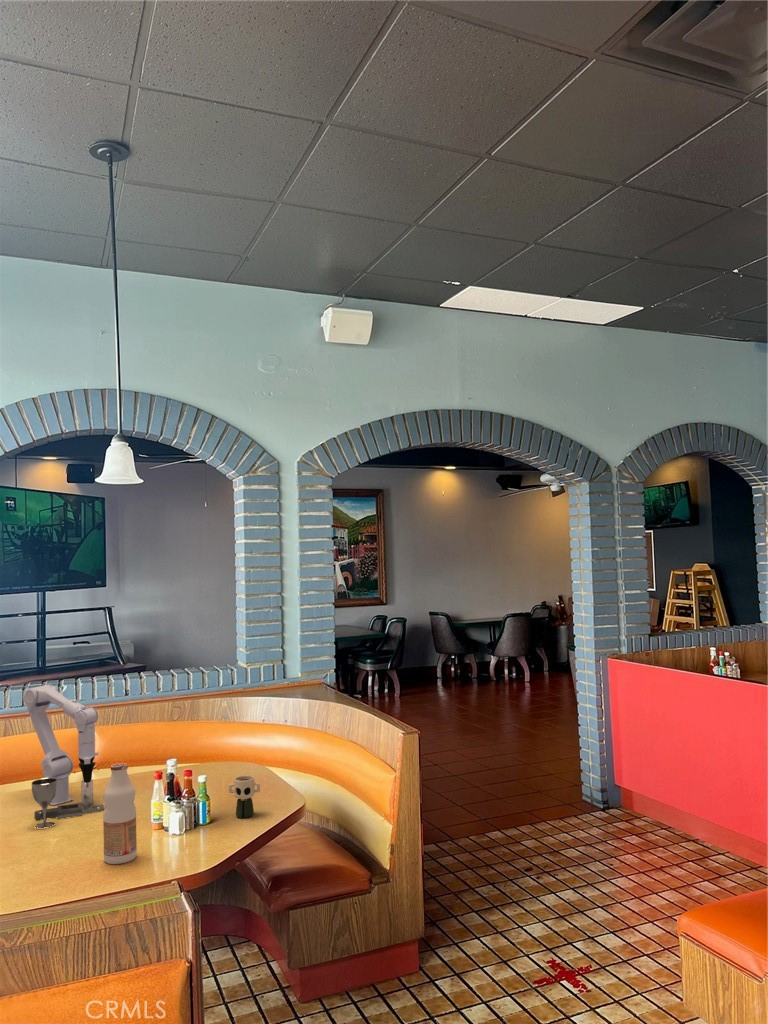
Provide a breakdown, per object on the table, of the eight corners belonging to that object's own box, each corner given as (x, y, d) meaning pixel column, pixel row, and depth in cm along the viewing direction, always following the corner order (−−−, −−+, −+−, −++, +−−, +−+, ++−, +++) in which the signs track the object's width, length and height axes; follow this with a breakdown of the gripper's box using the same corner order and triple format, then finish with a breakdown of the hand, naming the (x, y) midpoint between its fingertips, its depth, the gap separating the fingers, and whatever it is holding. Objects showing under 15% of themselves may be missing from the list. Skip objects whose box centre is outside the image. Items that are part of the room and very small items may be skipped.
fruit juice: (107, 867, 227) (106, 770, 229) (100, 857, 235) (99, 764, 237) (140, 860, 232) (139, 765, 234) (132, 850, 240) (131, 758, 242)
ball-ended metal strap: (33, 822, 268) (33, 815, 269) (34, 815, 276) (34, 809, 276) (104, 812, 277) (104, 805, 277) (103, 806, 285) (103, 799, 285)
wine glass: (62, 823, 267) (62, 779, 268) (43, 831, 260) (43, 785, 261) (45, 820, 271) (45, 776, 271) (26, 828, 263) (26, 783, 264)
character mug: (227, 819, 265) (226, 781, 266) (231, 812, 272) (230, 775, 273) (258, 819, 265) (258, 780, 266) (262, 812, 272) (261, 774, 273)
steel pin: (79, 806, 285) (79, 781, 286) (90, 803, 288) (89, 778, 289) (84, 808, 282) (84, 783, 283) (95, 805, 285) (94, 780, 286)
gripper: (98, 744, 281) (99, 783, 280) (97, 736, 295) (98, 772, 294) (77, 747, 279) (78, 785, 278) (77, 738, 292) (78, 775, 291)
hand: (87, 779), depth 286 cm, fingers open, 7 cm apart
